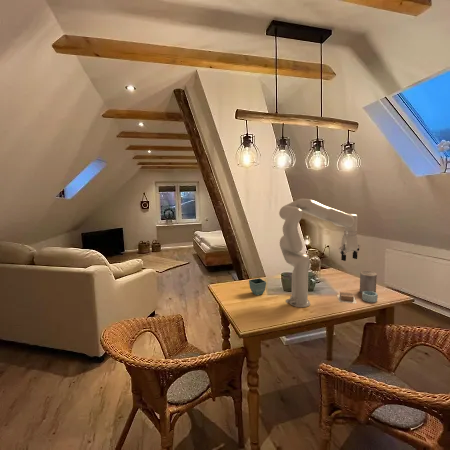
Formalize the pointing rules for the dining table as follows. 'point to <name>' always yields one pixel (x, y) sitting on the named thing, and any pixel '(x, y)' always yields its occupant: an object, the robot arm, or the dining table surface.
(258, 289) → the flower pot
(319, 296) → the dining table surface
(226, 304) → the dining table surface
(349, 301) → the mat
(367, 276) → the pillar candle
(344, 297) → the board
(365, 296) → the bowl
